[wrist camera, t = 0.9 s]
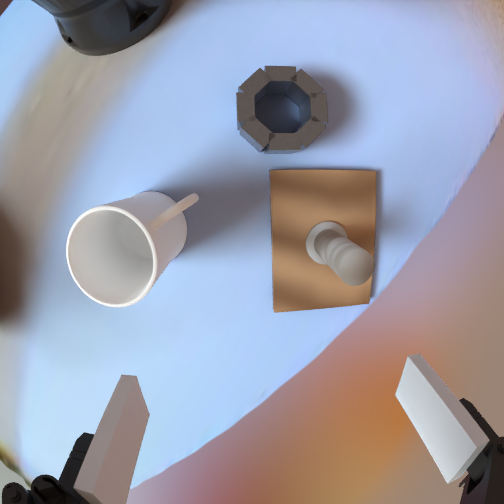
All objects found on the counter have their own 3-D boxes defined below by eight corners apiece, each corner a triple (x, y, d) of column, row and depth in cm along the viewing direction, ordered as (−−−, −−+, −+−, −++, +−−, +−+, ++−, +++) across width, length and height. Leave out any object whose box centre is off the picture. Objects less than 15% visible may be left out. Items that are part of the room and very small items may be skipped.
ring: (235, 82, 28) (235, 66, 23) (311, 82, 28) (323, 68, 23) (238, 154, 30) (238, 151, 25) (315, 153, 30) (329, 150, 26)
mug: (190, 162, 30) (163, 156, 19) (226, 231, 32) (221, 264, 21) (105, 214, 31) (47, 236, 19) (140, 277, 33) (99, 325, 22)
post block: (269, 170, 31) (284, 168, 21) (371, 171, 31) (420, 172, 21) (273, 308, 35) (285, 356, 25) (365, 299, 35) (402, 339, 25)
